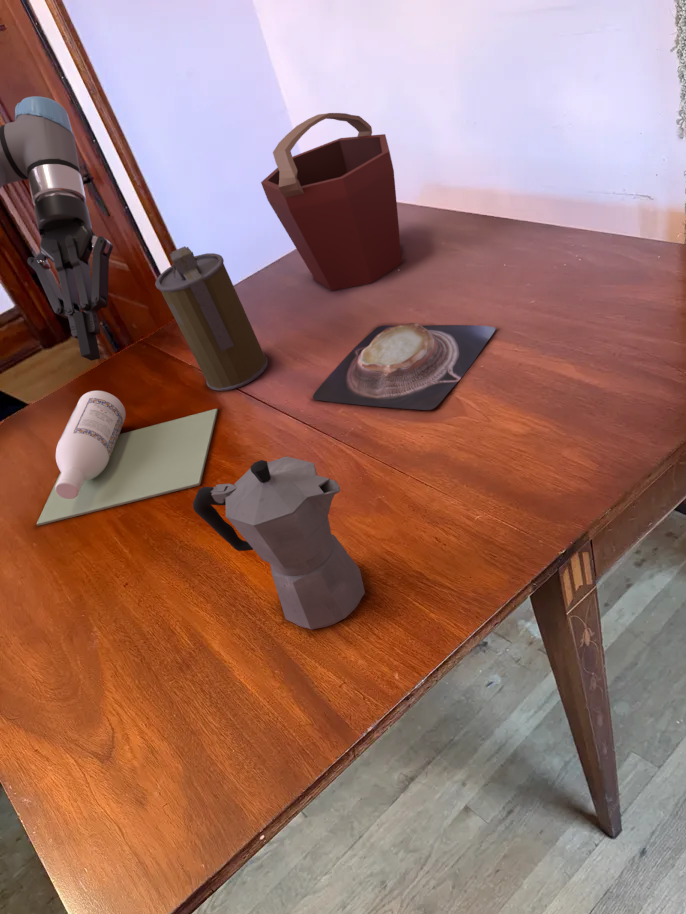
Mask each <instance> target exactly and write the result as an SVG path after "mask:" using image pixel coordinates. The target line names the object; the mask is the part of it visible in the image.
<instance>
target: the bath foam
mask: <svg viewBox="0 0 686 914" xmlns="http://www.w3.org/2000/svg"><path fill="white" fill-rule="evenodd" d="M126 414H127V413H126V408H125V406H124V405H123V403H122V402H121V400H120V399H119V398H118V397H117V396H115V395H114V394H111V393H109V392H107V391H104V390H91V391H88V392H86V393H84V394H82V395H81V396H80V398H79V399H78V402H77V404H76V406H75V407H74V409H73V411H72V413H71V416H70V417H69V419H68V422H67V423H66V426H65V428H64V430H63V432H62V433H61V436H60V438H59V439H58V442H57V445H56V449H55V461H56V465H57V467H58V469H59V471H60V472H61V475H60V477H59V476H58V477H59V480H58V482H57V484H56V487H55V490H56V493H57V494H58V495H59V496H61V497H62V498H65V499H73V498H75V497H76V496H77V495H78V493H79V491H80V489H81V486H82V484H83V482H84V481H88V480H91V479H93V478H95V477H97V476H98V475H99V474H100V473H101V472H102V471H103V470H104V469H105V467H106V466H107V464H108V462H109V459H110V457H111V454H112V451H113V449H114V446H115V444H116V441H117V439H118V436H119V434H121V431H122V428H123V427H124V426H123V425H124V423H125V420H126V417H127V416H126Z"/></svg>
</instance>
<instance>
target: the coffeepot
mask: <svg viewBox="0 0 686 914" xmlns="http://www.w3.org/2000/svg"><path fill="white" fill-rule="evenodd" d="M340 492H341V487H340V485H339V483H338V482H337V481H336V480H335V479H331V478H330V477H326V476H321V475H318V472H317V469H316V465H315V463H314V462H311V461H308V460H304V459H299V458H295V457H290V456H288V455H287V456H283V457H280V458H277V459H274V460H271V461H267V460H264V459H260V460H257V461H254V463H253V464H252V465H250V468H249V469H248V470H247V471H246V472H245V473H244V474H243V475H242V476H241V477H240V478H239V479H237V480H236V482H235V483H233V484H232V483H218V484H216V485H215V486H203V487H200V488H199V489H198V490H197V492H196V495H195V497H194V500H193V501H192V509H193V511H194V512H195V513H196V514H197V515H198V516H199V517H200V518H201V519H202V520H204V522H205V523H206V524H207V525H209V526H210V527H211V528H212V529H213V530H214V531H215V532H216V533H217V534H218V535H219V536H220V537H222V538H223V539H224V540H225V541H226V542H227V543H228V544H229V545H230V546H231V547H232V548H233V549H234V550H236V551H238V552H246V551H254V552H255V553H256V554H257V556H258V557H259V558H260V559H261V560H262V561H264V562H266V563H269V565H270V571H271V576H272V579H273V582H274V586H275V589H276V592H277V596H278V599H279V602H280V606H281V608H282V612H283V615H284V618H285V620H286V621H287V622H290V623H293V625H296V626H298V627H301V628H303V629H308V630H317V629H323V628H327V627H330V626H332V625H335V624H337V623H339V622H341V621H343V620H345V619H346V618H348V616H349V615H350V614H352V612H354V610H355V609H357V607H358V605H359V604H360V602H361V600H362V598H363V597H364V596H365V594H366V591H365V587H364V581H363V577H362V573H361V569H360V567H359V566H358V565H357V564H356V562H355V561H354V559H353V557H351V556H350V554H349V553H348V551H347V550H346V549H345V547H344V546H343V544H342V543H341V542H340V540H339V539H338V538H337V537H336V535H335V534H333V533H332V531H331V524H330V519H329V513H330V509H331V507H332V506H331V505H332V502H333V499H334V497H335V495H337V494H338V493H340ZM214 506H225V518H226V519H228V521H229V522H230V523H231V524H232V525H231V524H229V522H227V521H226V520H224V518H223V517H222V516H221V515H220V513H219V512H218V511H217V509H216V508H215V507H214ZM236 530H237V531H238V533H239V534H240V536H242V538H243V539H242V538H240V537H239V535H238V533H237V532H236Z"/></svg>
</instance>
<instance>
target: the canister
mask: <svg viewBox="0 0 686 914" xmlns="http://www.w3.org/2000/svg"><path fill="white" fill-rule="evenodd" d="M169 256H170V259H171V261H172V264H171V266H170V267H168V268H166V269H165V270H164V271H163V272H161V274H159V275H158V277H157V278H156V280H155V284H154V285H155V287H156V289H157V290H159V291H160V292H161V295H162V297H163V298H164V300H165V302H166V304H167V306H168V308H169V310H170V312H171V314H172V316H173V318H174V320H175V322H176V324H177V326H178V327H179V330H180V332H181V334H182V335H183V337H184V339H185V341H186V343H187V345H188V347H189V349H190V351H191V354H192V355H193V357H194V359H195V361H196V363H197V365H198V367H199V369H200V371H201V373H202V375H203V377H204V378H205V381H206V386H207V387H208V388H209V389H210V390H213V391H216V392H221V391H222V392H226V391H227V392H228V391H231V390H235V389H239V388H242V387H244V386H247V385H248V384H250V383H251V382H253V381H255V380H257V379H258V378H259V377H260V376H261V375H262V374H263V373H264V372H265V370H266V368H267V367H268V362H269V359H268V356H266V355H265V353H264V352H263V349H262V347H261V345H260V343H259V340H258V338H257V336H256V333H255V331H254V329H253V326H252V324H251V322H250V320H249V318H248V315H247V313H246V311H245V308H244V306H243V304H242V302H241V300H240V297H239V296H238V293H237V291H236V288H235V286H234V284H233V281H232V280H231V277H230V275H229V273H228V270H227V268H226V266H225V263H224V262H225V261H224V258H223V256H222V255H221V254H218V253H214V252H213V253H208V252H207V253H203V254H198V255H195V254H194V252H193V251H192V250H191V248H190V247H189V246H182V247H180V248H177V249H175V250H173V251H170V254H169Z"/></svg>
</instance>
